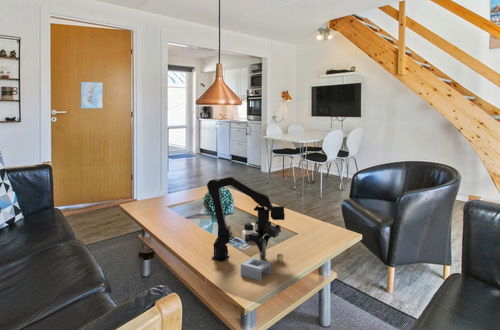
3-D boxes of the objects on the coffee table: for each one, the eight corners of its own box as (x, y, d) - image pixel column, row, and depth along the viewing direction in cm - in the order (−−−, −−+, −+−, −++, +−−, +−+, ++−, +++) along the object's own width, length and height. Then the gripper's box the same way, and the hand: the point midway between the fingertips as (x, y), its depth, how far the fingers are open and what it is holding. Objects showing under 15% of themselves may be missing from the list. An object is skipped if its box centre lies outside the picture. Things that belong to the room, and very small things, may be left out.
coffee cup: (158, 271, 157) (157, 247, 156) (154, 278, 149) (153, 253, 148) (141, 271, 157) (140, 247, 156) (136, 279, 148) (135, 253, 147)
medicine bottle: (245, 246, 169) (245, 225, 169) (241, 242, 176) (242, 222, 175) (257, 245, 171) (257, 224, 170) (253, 241, 178) (253, 221, 177)
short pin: (275, 264, 144) (276, 255, 144) (278, 262, 147) (278, 253, 147) (281, 265, 143) (281, 256, 143) (284, 263, 145) (284, 254, 145)
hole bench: (240, 275, 132) (240, 264, 132) (251, 268, 140) (251, 257, 139) (260, 280, 127) (260, 269, 126) (270, 273, 134) (270, 262, 134)
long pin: (258, 257, 148) (258, 239, 147) (261, 255, 151) (261, 237, 150) (263, 258, 146) (264, 240, 146) (266, 256, 149) (267, 238, 148)
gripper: (268, 226, 135) (267, 260, 136) (286, 218, 151) (286, 248, 152) (247, 222, 141) (247, 255, 142) (267, 215, 157) (266, 244, 158)
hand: (262, 250), depth 148 cm, fingers closed on long pin, 3 cm apart
